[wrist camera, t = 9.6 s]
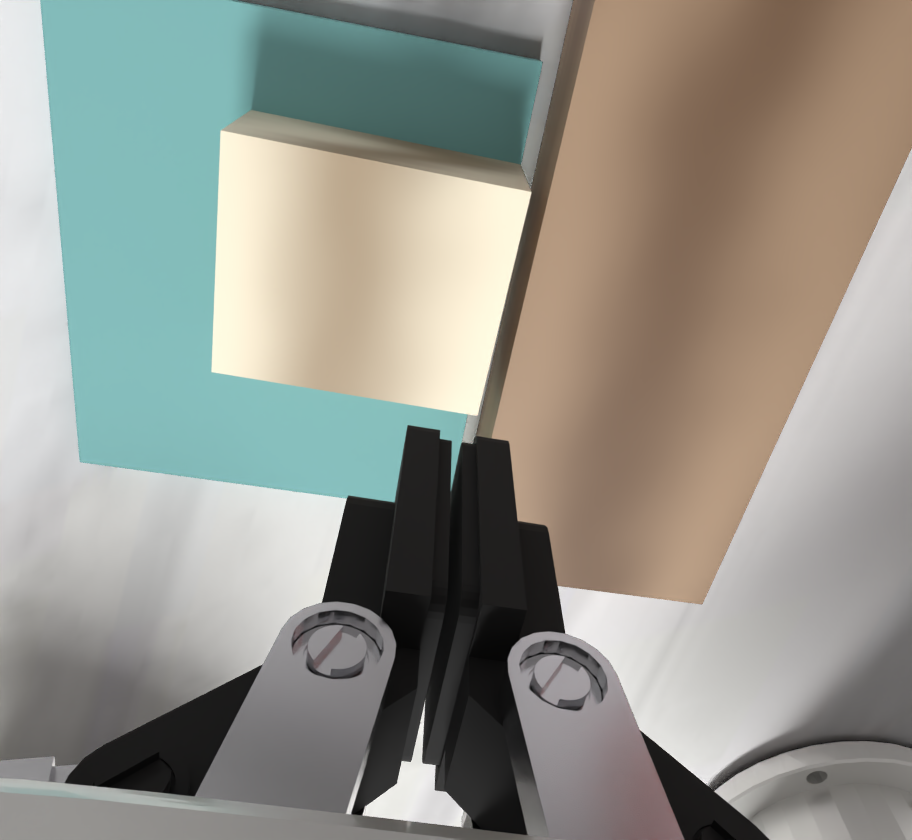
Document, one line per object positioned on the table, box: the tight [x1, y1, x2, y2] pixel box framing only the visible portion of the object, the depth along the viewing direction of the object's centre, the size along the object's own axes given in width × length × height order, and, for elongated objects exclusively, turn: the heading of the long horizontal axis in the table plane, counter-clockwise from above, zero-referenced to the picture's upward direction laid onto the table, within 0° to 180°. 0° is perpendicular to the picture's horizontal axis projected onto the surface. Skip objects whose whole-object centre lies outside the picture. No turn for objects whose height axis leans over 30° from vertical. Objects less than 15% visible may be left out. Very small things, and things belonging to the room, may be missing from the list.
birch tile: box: [211, 110, 531, 416], centre depth 20 cm, size 7×6×3 cm
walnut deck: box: [476, 0, 912, 604], centre depth 21 cm, size 8×18×3 cm, turn 170°
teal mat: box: [40, 0, 543, 502], centre depth 22 cm, size 12×14×1 cm
